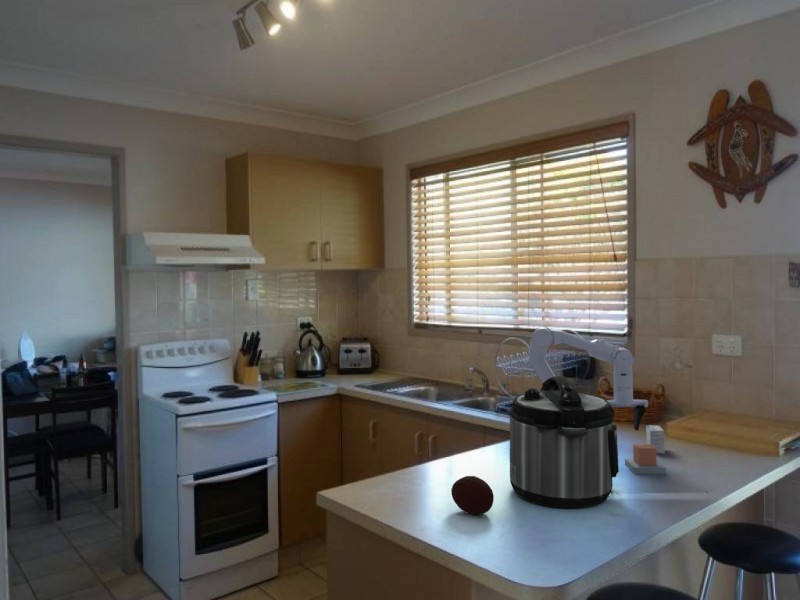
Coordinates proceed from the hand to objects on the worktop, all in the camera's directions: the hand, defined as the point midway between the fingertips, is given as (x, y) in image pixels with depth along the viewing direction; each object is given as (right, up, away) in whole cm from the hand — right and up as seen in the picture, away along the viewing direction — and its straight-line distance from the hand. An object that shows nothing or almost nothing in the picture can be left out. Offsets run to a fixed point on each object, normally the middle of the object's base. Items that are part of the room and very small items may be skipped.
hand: (623, 430), depth 198 cm
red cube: (+2, -8, -11) cm, 14 cm away
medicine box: (+14, -10, +10) cm, 20 cm away
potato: (-52, -13, -40) cm, 67 cm away
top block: (+2, -10, -11) cm, 15 cm away
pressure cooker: (-26, -12, -27) cm, 39 cm away
